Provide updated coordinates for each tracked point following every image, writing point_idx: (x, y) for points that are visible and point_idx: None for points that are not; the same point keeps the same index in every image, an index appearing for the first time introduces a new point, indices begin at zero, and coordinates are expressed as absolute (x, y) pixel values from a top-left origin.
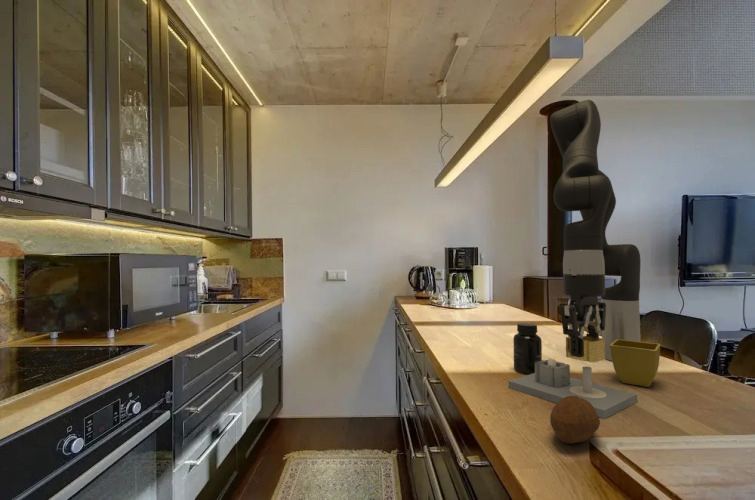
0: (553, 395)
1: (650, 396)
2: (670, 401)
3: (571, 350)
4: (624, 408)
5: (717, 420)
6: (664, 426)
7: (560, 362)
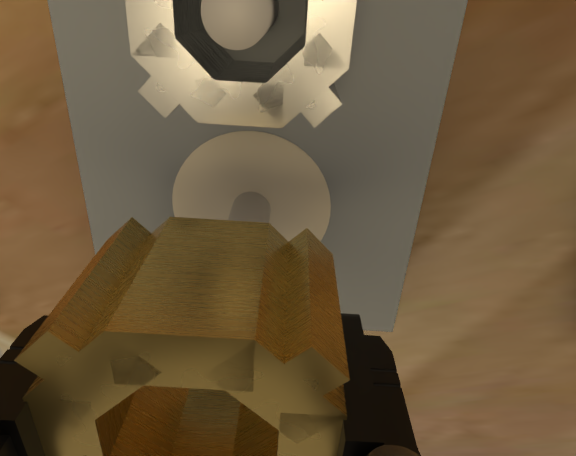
0: (72, 119)
1: (493, 322)
2: (477, 368)
3: (22, 337)
4: None
5: None
6: None
7: (347, 36)
